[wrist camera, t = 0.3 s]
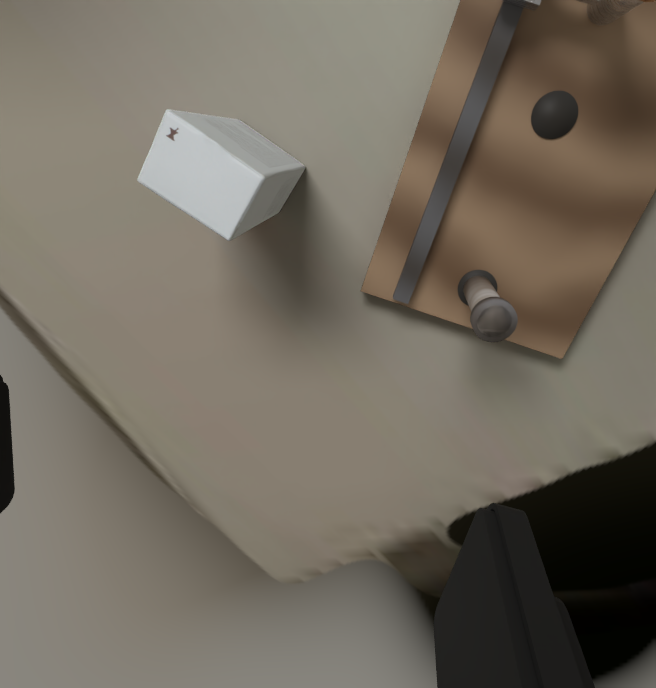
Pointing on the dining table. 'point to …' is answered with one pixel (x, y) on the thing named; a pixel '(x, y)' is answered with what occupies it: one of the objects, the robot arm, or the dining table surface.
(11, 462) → the robot arm
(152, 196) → the dining table surface
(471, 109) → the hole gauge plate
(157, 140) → the skincare box
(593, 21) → the track spotlight
